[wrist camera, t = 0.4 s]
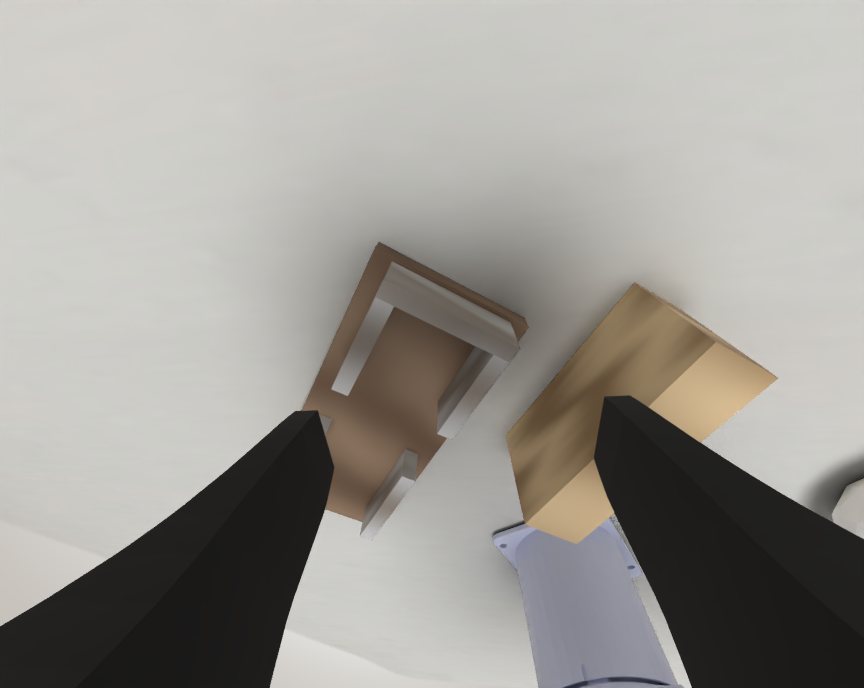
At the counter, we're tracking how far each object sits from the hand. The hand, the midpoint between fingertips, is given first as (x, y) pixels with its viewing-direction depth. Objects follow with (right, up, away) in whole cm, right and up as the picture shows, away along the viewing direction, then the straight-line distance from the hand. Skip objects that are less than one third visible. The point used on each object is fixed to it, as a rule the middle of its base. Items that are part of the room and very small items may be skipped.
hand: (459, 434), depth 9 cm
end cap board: (-4, -1, +12) cm, 12 cm away
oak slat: (+8, 0, +11) cm, 13 cm away
